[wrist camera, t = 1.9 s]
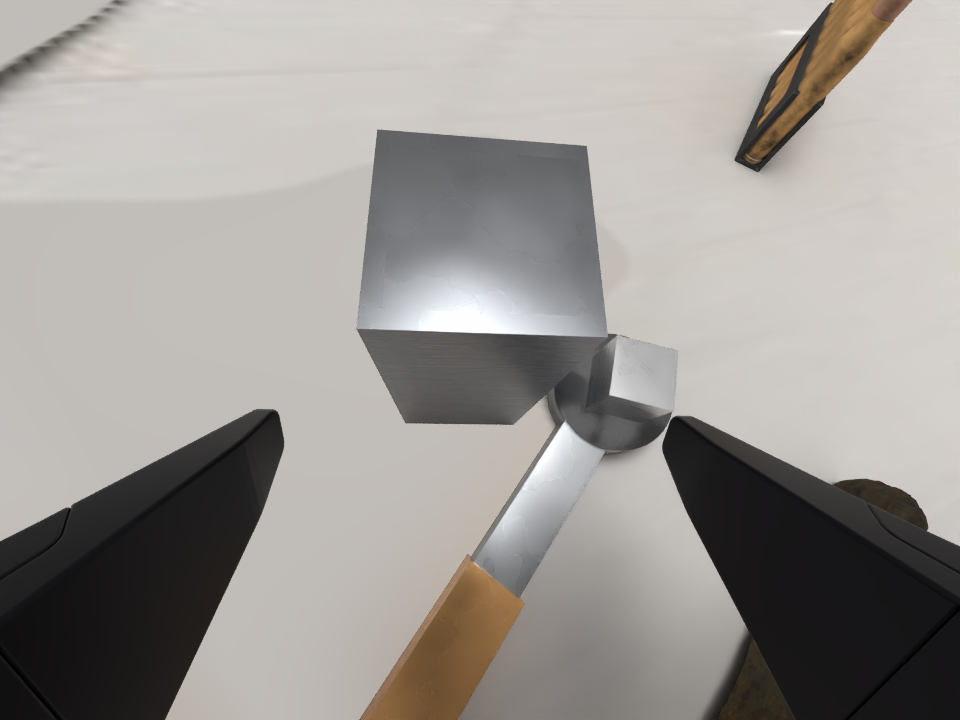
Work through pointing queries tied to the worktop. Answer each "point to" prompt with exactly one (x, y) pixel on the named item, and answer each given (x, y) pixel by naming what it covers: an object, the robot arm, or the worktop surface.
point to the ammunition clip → (814, 72)
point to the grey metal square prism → (478, 274)
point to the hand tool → (755, 696)
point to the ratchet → (529, 526)
